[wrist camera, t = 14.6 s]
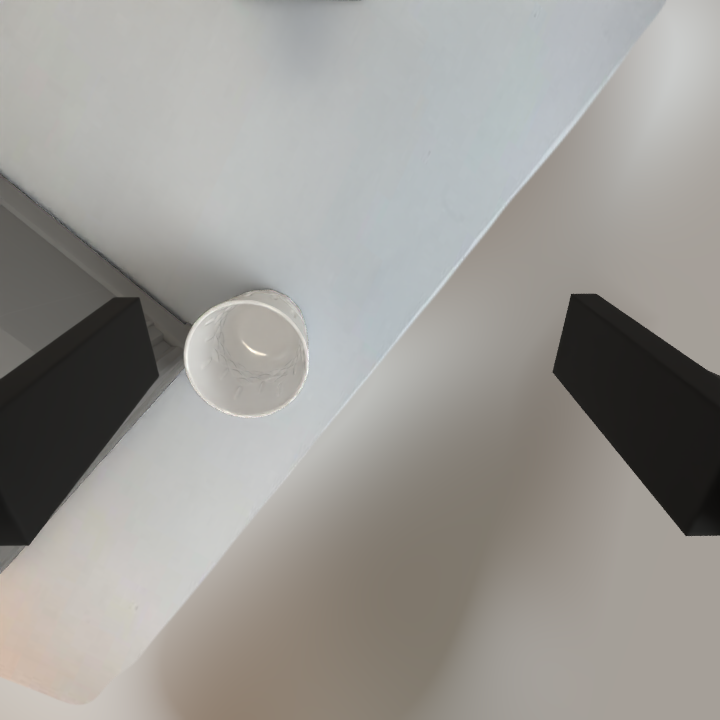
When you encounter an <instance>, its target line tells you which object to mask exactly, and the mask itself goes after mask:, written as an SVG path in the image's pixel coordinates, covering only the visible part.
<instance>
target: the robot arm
mask: <svg viewBox="0 0 720 720" xmlns="http://www.w3.org/2000/svg"><path fill="white" fill-rule="evenodd" d="M553 373H554V374H555V376H556V377H557V378H558V379H559V381H560V382H561V383H562V384H563V385H564V387H565V388H566V389H567V390H568V392H569V393H570V394H571V395H572V396H573V398H574V399H575V400H576V402H577V403H578V404H579V405H580V406H581V408H582V409H583V410H584V411H585V413H586V414H587V415H588V416H589V418H590V419H591V420H592V421H593V422H594V424H595V425H596V426H597V427H598V429H599V430H600V431H601V432H602V434H604V436H605V437H606V438H607V440H608V441H609V442H610V443H611V445H612V446H613V447H614V448H615V449H616V451H617V452H618V453H619V454H620V455H621V457H622V458H623V459H624V461H625V462H626V463H627V464H628V465H629V467H630V468H631V469H632V470H633V472H634V473H635V474H636V475H637V476H638V478H639V479H640V480H641V481H642V483H643V484H644V485H645V486H646V488H647V489H648V490H649V491H650V493H651V494H652V495H653V496H654V497H655V499H656V500H657V501H658V502H659V504H660V505H661V506H662V507H663V508H664V510H665V511H666V512H667V513H668V515H669V516H670V517H671V518H672V520H673V521H674V522H675V523H676V524H677V526H678V527H679V528H680V529H681V531H682V532H683V533H684V534H685V535H686V536H708V535H709V536H711V535H712V536H717V535H720V376H719V375H717V374H715V373H712V372H710V371H708V370H706V369H705V368H703V367H702V366H700V365H699V364H697V363H696V362H694V361H693V360H692V359H690V358H689V357H687V356H686V355H684V354H683V353H681V352H680V351H679V350H677V349H676V348H674V347H673V346H671V345H670V344H668V343H667V342H665V341H664V340H663V339H661V338H660V337H658V336H657V335H655V334H654V333H652V332H651V331H649V330H648V329H647V328H645V327H643V326H642V325H641V324H639V323H638V322H636V321H635V320H634V319H632V318H631V317H629V316H628V315H626V314H625V313H623V312H622V311H620V310H619V309H618V308H616V307H615V306H613V305H612V304H610V303H609V302H607V301H606V300H604V299H603V298H602V297H600V296H599V295H597V294H571V297H570V302H569V306H568V310H567V314H566V318H565V323H564V327H563V331H562V335H561V339H560V343H559V347H558V352H557V356H556V360H555V364H554V369H553ZM158 377H159V372H158V368H157V364H156V360H155V356H154V352H153V348H152V345H151V341H150V337H149V333H148V329H147V325H146V321H145V317H144V313H143V309H142V305H141V301H140V297H113V298H112V299H111V300H109V301H108V302H107V303H105V304H104V305H102V306H101V307H100V308H98V309H97V310H95V311H94V312H93V313H91V314H90V315H88V316H87V317H86V318H84V319H83V320H82V321H80V322H79V323H77V324H76V325H75V326H73V327H72V328H70V329H69V330H68V331H66V332H65V333H63V334H62V335H61V336H59V337H58V338H57V339H55V340H54V341H52V342H51V343H50V344H48V345H47V346H45V347H44V348H43V349H41V350H40V351H38V352H37V353H36V354H34V355H33V356H31V357H30V358H29V359H27V360H26V361H25V362H23V363H22V364H20V365H19V366H18V367H16V368H15V369H13V370H12V371H11V372H9V373H8V374H6V375H5V376H4V377H2V378H1V379H0V546H29V545H30V543H31V542H32V541H33V539H34V538H35V537H36V536H37V534H38V533H39V532H40V530H41V529H42V528H43V526H44V525H45V524H46V523H47V521H48V520H49V519H50V517H51V516H52V515H53V513H54V512H55V511H56V510H57V508H58V507H59V506H60V504H61V503H62V502H63V500H64V499H65V498H66V497H67V495H68V494H69V493H70V491H71V490H72V489H73V487H74V486H75V485H76V484H77V482H78V481H79V480H80V478H81V477H82V476H83V475H84V473H85V472H86V471H87V469H88V468H89V467H90V465H91V464H92V463H93V462H94V460H95V459H96V458H97V456H98V455H99V454H100V452H101V451H102V450H103V449H104V447H105V446H106V445H107V443H108V442H109V441H110V439H111V438H112V437H113V436H114V434H115V433H116V432H117V430H118V429H119V428H120V426H121V425H122V424H123V423H124V421H125V420H126V419H127V417H128V416H129V415H130V414H131V412H132V411H133V410H134V408H135V407H136V406H137V404H138V403H139V402H140V401H141V399H142V398H143V397H144V395H145V394H146V393H147V391H148V390H149V389H150V388H151V386H152V385H153V384H154V382H155V381H156V380H157V378H158Z"/></svg>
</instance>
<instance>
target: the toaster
mask: <svg viewBox="0 0 720 720" xmlns="http://www.w3.org/2000/svg"><path fill="white" fill-rule="evenodd" d="M113 297H140V301H141V305H142V309H143V313H144V317H145V321H146V325H147V329H148V333H149V337H150V341H151V345H152V348H153V352H154V356H155V360H156V364H157V368H158V372H159V377H158V378H157V380H156V381H155V382H154V384H153V385H152V386H151V388H150V389H149V390H148V391H147V393H146V394H145V395H144V397H143V398H142V399H141V401H140V402H139V403H138V404H137V406H136V407H135V408H134V410H133V411H132V412H131V414H130V415H129V416H128V417H127V419H126V420H125V421H124V423H123V424H122V425H121V426H120V428H119V429H118V430H117V432H116V433H115V434H114V436H113V437H112V438H111V439H110V441H109V442H108V443H107V445H106V446H105V447H104V449H103V450H102V451H101V452H100V454H99V455H98V456H97V458H96V459H95V460H94V462H93V463H92V464H91V465H90V467H89V468H88V469H87V471H86V472H85V473H84V475H83V476H82V477H81V478H80V480H79V481H78V482H77V484H76V485H75V486H74V487H73V489H72V490H71V491H70V493H69V494H68V495H67V497H66V498H65V499H64V500H63V502H62V503H61V504H60V506H61V505H62V504H63V503H64V502H65V501H66V500H67V499H68V497H69V496H70V495H71V494H72V493H73V492H74V491H75V490H76V489H77V487H78V486H79V485H80V484H81V483H82V482H83V481H84V480H85V478H86V477H87V476H88V475H89V474H90V473H91V472H92V471H93V469H94V468H95V467H96V466H97V465H98V464H99V463H100V462H101V461H102V459H103V458H104V457H105V456H106V455H107V454H108V453H109V452H110V450H111V449H112V448H113V447H114V446H115V445H116V444H117V443H118V441H119V440H120V439H121V438H122V437H123V436H124V435H125V434H126V432H127V431H128V430H129V429H130V428H131V427H132V426H133V425H134V424H135V422H136V421H137V420H138V419H139V418H140V417H141V416H142V415H143V413H144V412H145V411H146V410H147V409H148V408H149V407H150V406H151V404H152V403H153V402H154V401H155V400H156V399H157V398H158V397H159V396H160V394H161V393H162V392H163V391H164V390H165V389H166V388H167V387H168V385H169V384H170V383H171V382H172V381H173V380H174V379H175V378H176V376H177V375H178V374H179V373H180V372H181V371H182V370H183V369H184V367H185V366H184V346H185V341H186V338H187V335H188V333H189V331H190V329H191V328H192V325H191V324H190V323H189V322H188V323H186V324H183V323H182V322H181V321H180V320H178V319H177V318H176V317H175V316H173V315H172V314H171V313H170V312H169V311H167V310H166V309H165V308H164V307H162V306H161V305H160V304H159V303H158V302H156V301H155V300H154V299H153V298H151V297H150V296H149V295H148V294H146V293H145V292H144V291H143V290H142V289H140V288H139V287H138V286H137V285H135V284H134V283H133V282H132V281H131V280H129V279H128V278H127V277H126V276H124V275H123V274H122V273H121V272H119V271H118V270H117V269H116V268H115V267H113V266H112V265H111V264H110V263H108V262H107V261H106V260H105V259H104V258H102V257H101V256H100V255H99V254H97V253H96V252H95V251H94V250H92V249H91V248H90V247H89V246H88V245H86V244H85V243H84V242H83V241H81V240H80V239H79V238H78V237H77V236H75V235H74V234H73V233H72V232H70V231H69V230H68V229H67V228H66V227H64V226H63V225H62V224H61V223H59V222H58V221H57V220H56V219H54V218H53V217H52V216H51V215H50V214H48V213H47V212H46V211H45V210H43V209H42V208H41V207H40V206H39V205H37V204H36V203H35V202H34V201H32V200H31V199H30V198H29V197H27V196H26V195H25V194H24V193H23V192H21V191H20V190H19V189H18V188H16V187H15V186H14V185H13V184H12V183H10V182H9V181H8V180H7V179H5V178H4V177H3V176H2V175H0V379H1V378H2V377H4V376H5V375H6V374H8V373H9V372H11V371H12V370H13V369H15V368H16V367H18V366H19V365H20V364H22V363H23V362H25V361H26V360H27V359H29V358H30V357H31V356H33V355H34V354H36V353H37V352H38V351H40V350H41V349H43V348H44V347H45V346H47V345H48V344H50V343H51V342H52V341H54V340H55V339H57V338H58V337H59V336H61V335H62V334H63V333H65V332H66V331H68V330H69V329H70V328H72V327H73V326H75V325H76V324H77V323H79V322H80V321H82V320H83V319H84V318H86V317H87V316H88V315H90V314H91V313H93V312H94V311H95V310H97V309H98V308H100V307H101V306H102V305H104V304H105V303H107V302H108V301H109V300H111V299H112V298H113ZM60 506H59V507H58V508H57V510H58V509H59V508H60ZM57 510H56V511H57ZM56 511H55V512H56ZM55 512H54V513H55ZM54 513H53V514H54ZM51 517H52V516H51ZM51 517H50V518H51ZM24 547H25V546H0V574H1V573H2V571H3V570H4V569H5V568H6V567H7V566H8V565H9V564H10V563H11V562H12V561H13V560H14V558H15V557H16V556H17V555H18V554H19V552H20V551H21V550H22V549H23V548H24Z"/></svg>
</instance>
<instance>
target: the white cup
mask: <svg viewBox="0 0 720 720" xmlns="http://www.w3.org/2000/svg"><path fill="white" fill-rule="evenodd" d="M184 366H185V371H186V374H187V377H188V379H189V381H190V383H191V385H192V387H193V388H194V390H195V391H196V392H197V394H198V395H199V396H200V397H201V398H202V399H203V400H204V401H205V402H206V403H208V404H209V405H210V406H212V407H214V408H215V409H217V410H219V411H221V412H223V413H226V414H229V415H232V416H237V417H244V418H255V417H262V416H266V415H269V414H272V413H275V412H277V411H279V410H281V409H282V408H284V407H285V406H287V405H288V404H289V403H290V402H292V401H293V400H294V398H295V397H296V396H297V395H298V394H299V392H300V391H301V389H302V387H303V385H304V383H305V381H306V378H307V374H308V368H309V352H308V336H307V329H306V325H305V322H304V319H303V316H302V313H301V310H300V309H299V307H298V306H297V305H296V304H295V303H294V302H293V301H292V300H291V299H290V298H289V297H288V296H286V295H283V294H281V293H279V292H276V291H274V290H271V289H270V290H253V291H251V292H247V293H243V294H241V295H238V296H235V297H233V298H231V299H229V300H227V301H225V302H223V303H221V304H219V305H216V306H214V307H212V308H211V309H209V310H208V311H206V312H205V313H204V314H202V315H201V316H200V317H199V318H198V319H197V321H196V322H195V323H194V324H193V326H192V328H191V329H190V331H189V333H188V335H187V338H186V341H185V346H184Z"/></svg>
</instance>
